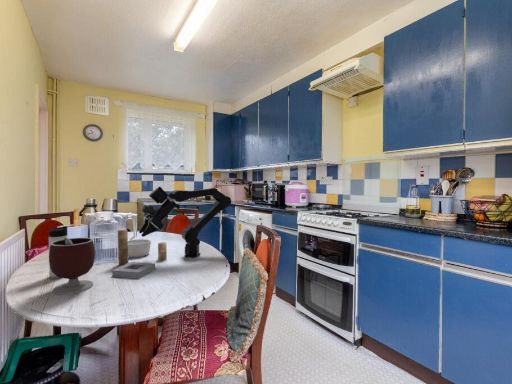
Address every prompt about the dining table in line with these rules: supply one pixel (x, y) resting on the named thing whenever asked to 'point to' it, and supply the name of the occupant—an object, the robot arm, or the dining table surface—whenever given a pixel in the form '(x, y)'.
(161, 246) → the short beech pin
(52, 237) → the travel mug
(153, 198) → the robot arm
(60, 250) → the mate gourd
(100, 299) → the dining table surface
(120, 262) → the walnut pin
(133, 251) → the ramekin
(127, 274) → the socket board
